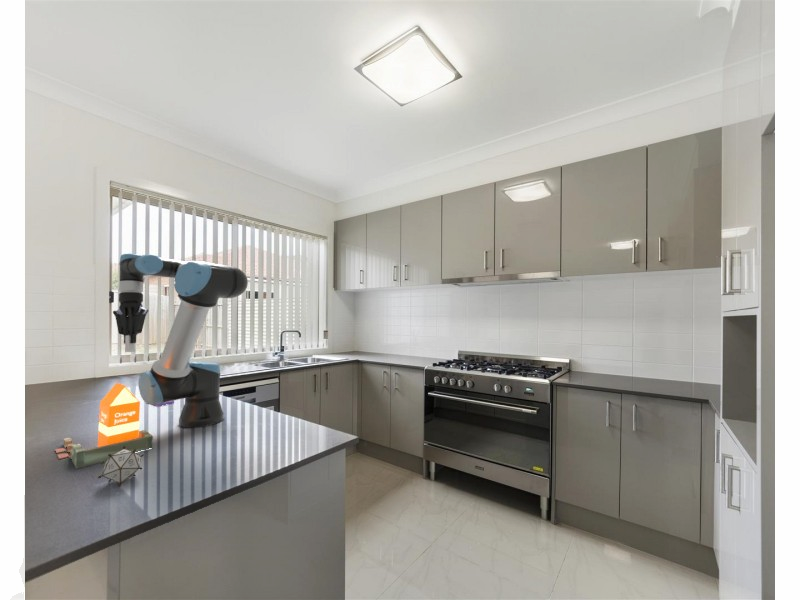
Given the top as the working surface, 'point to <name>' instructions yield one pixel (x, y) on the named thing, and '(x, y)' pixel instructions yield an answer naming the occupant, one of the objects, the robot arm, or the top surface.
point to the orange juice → (118, 416)
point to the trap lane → (106, 449)
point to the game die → (121, 465)
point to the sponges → (164, 403)
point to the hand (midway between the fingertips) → (129, 352)
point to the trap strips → (61, 454)
